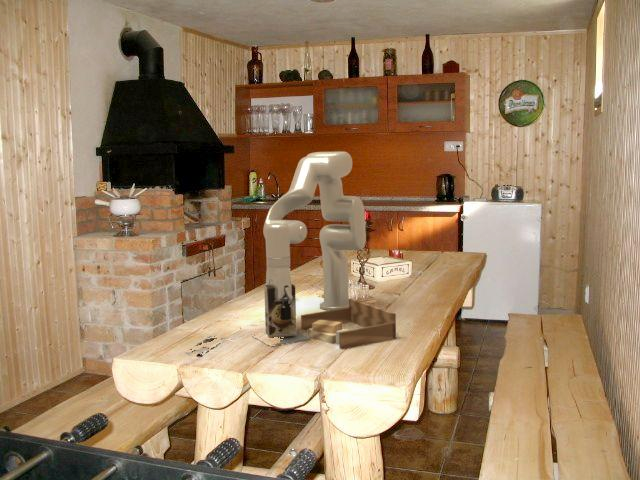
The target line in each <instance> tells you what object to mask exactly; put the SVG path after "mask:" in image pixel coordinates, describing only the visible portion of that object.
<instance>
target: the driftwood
mask: <svg viewBox="0 0 640 480" xmlns="http://www.w3.org/2000/svg"><path fill="white" fill-rule="evenodd" d="M213 336H214V337H215V336H216V335H213ZM210 337H212V336H211V335H210V336H207V338H210ZM207 338H204V339H203V340H202V341H203V343H207V342H211V341H213V340H214V339H217V338H210V339H207ZM202 341H201V342H198V343H196V345H195V346H198V345H201V344H202ZM189 350H192V348H190V349H189ZM200 354H201V353H200ZM200 356H203V355H202V354H201V355H200Z"/></svg>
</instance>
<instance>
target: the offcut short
mask: <svg viewBox="0 0 640 480" xmlns="http://www.w3.org/2000/svg"><path fill="white" fill-rule="evenodd" d="M342 329H343V324H342V322H337V321H327V320H318V321H316V322H314V323H312V331H316V332H325V333H333V334H335V333H336V331H339V330H342Z"/></svg>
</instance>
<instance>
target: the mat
mask: <svg viewBox="0 0 640 480" xmlns="http://www.w3.org/2000/svg"><path fill="white" fill-rule="evenodd" d="M253 335H254V336H255V335H256V334H253ZM278 338H279V337H278ZM311 338H312V337H308V335H307V336H306V335H304V334H302V333H300V332H298V331H297V335H294V336H284V338H281V337H280V339H283V340H280V343H277V344H275V345H279V346H282V345H281V344H285V345H287V344H286V343H290V344H292V343H291V342H295V343H300V341H301V342H306V341H310V340H311ZM273 345H274V344H273Z"/></svg>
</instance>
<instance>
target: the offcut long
mask: <svg viewBox="0 0 640 480" xmlns="http://www.w3.org/2000/svg"><path fill="white" fill-rule="evenodd" d="M308 336H309V338H312V339H315V340H318V341H322V342H324V343H329V344H332V345H334V344H336V333H335V334H333V333H325V332H316V331H312V328H309V329H308V330H307V337H308Z"/></svg>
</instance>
